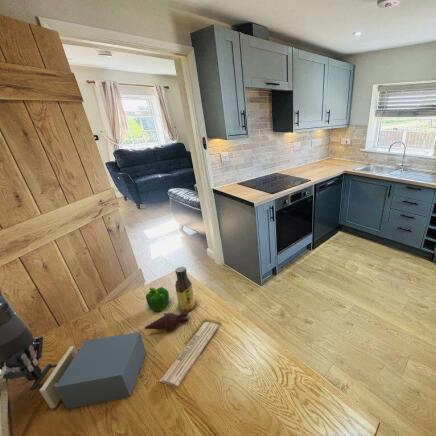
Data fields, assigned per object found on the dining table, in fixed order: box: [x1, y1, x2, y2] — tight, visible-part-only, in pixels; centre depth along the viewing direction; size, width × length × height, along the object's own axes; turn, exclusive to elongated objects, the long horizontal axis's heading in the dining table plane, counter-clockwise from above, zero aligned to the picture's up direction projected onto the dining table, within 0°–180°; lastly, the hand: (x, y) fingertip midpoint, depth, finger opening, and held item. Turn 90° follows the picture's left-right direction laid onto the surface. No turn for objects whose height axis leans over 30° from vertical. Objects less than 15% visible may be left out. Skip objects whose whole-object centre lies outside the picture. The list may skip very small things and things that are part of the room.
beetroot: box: [144, 311, 189, 333], centre depth 92 cm, size 7×7×15 cm
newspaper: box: [158, 321, 219, 388], centre depth 84 cm, size 24×7×2 cm, turn 165°
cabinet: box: [55, 331, 147, 410], centre depth 73 cm, size 16×15×10 cm
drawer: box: [28, 345, 82, 409], centre depth 72 cm, size 20×14×8 cm
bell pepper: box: [145, 286, 170, 312], centre depth 101 cm, size 8×8×10 cm
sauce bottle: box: [174, 266, 196, 313], centre depth 99 cm, size 7×6×20 cm
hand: (36, 377), depth 69 cm, fingers closed
